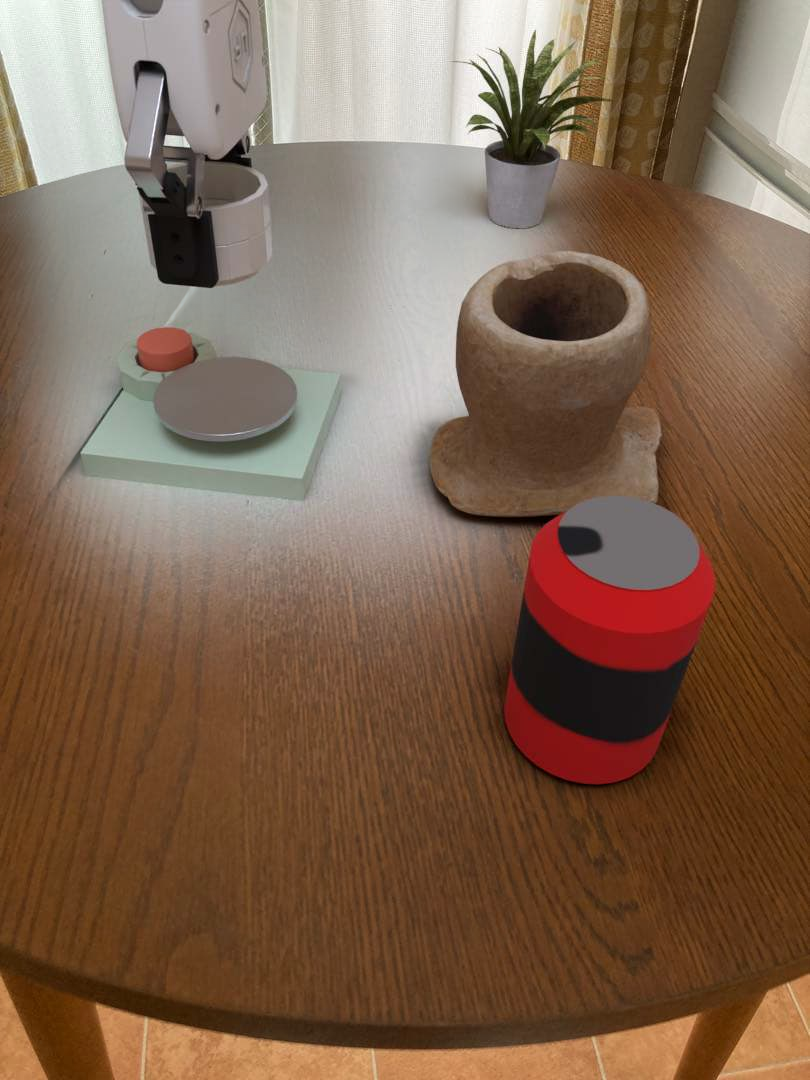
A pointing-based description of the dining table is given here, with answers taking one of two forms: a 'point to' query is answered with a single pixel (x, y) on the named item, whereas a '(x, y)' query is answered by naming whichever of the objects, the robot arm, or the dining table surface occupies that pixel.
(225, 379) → the plate
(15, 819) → the dining table surface
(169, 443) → the scale
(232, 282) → the bowl
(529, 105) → the house plant
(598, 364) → the stone cup
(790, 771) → the dining table surface
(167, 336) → the tare button
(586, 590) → the soda can
